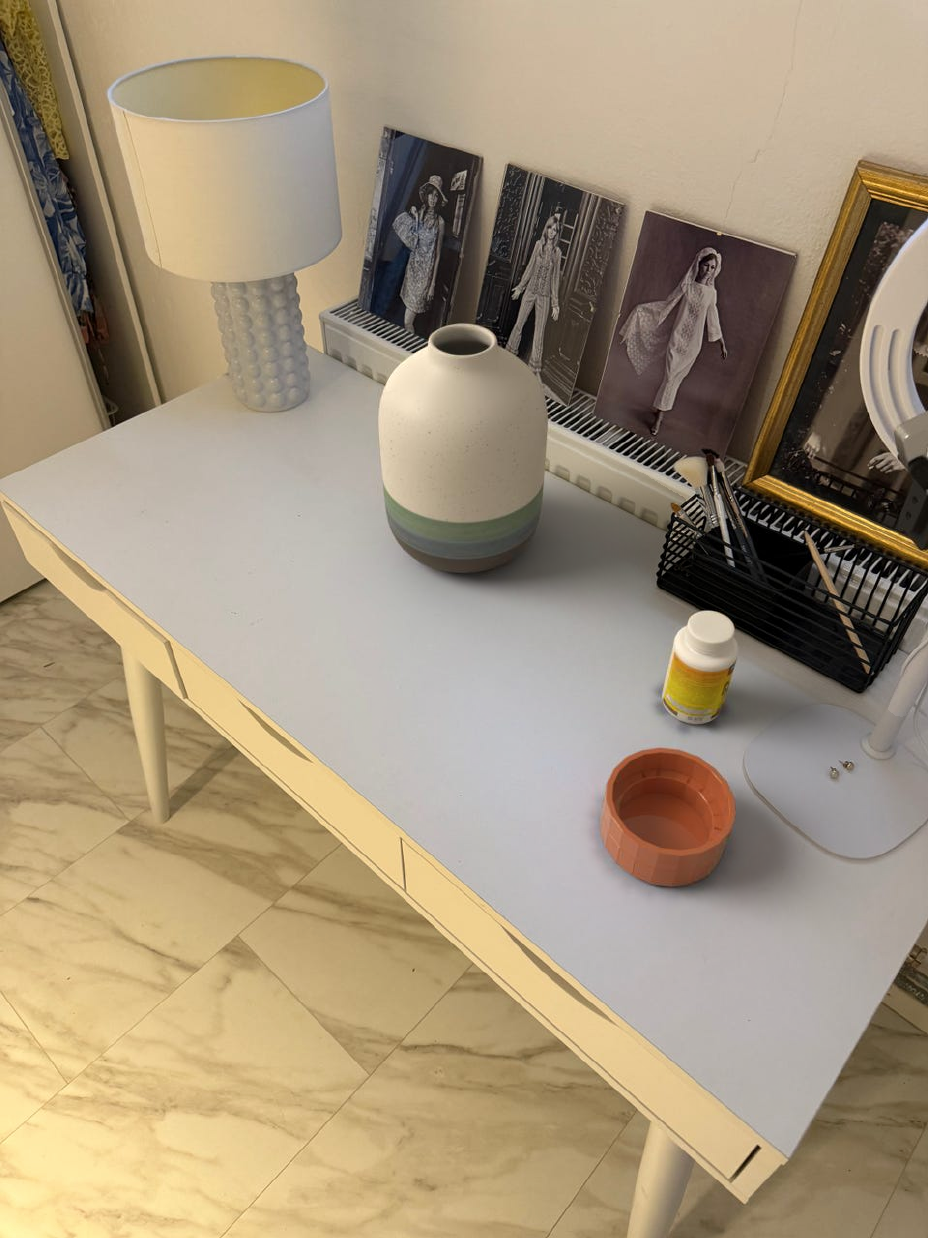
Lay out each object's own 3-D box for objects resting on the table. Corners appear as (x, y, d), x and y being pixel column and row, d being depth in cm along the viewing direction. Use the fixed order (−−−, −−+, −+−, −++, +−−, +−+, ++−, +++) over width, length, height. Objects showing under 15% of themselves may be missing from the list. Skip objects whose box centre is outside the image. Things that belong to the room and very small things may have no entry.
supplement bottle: (722, 730, 84) (746, 653, 77) (660, 723, 85) (678, 646, 78) (720, 684, 88) (742, 607, 81) (660, 678, 89) (677, 600, 82)
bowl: (741, 879, 74) (755, 845, 70) (619, 897, 73) (626, 864, 69) (698, 776, 81) (709, 740, 77) (586, 791, 80) (592, 756, 76)
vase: (551, 584, 98) (568, 381, 81) (390, 595, 97) (374, 392, 80) (527, 487, 110) (538, 293, 93) (384, 496, 109) (369, 301, 92)
